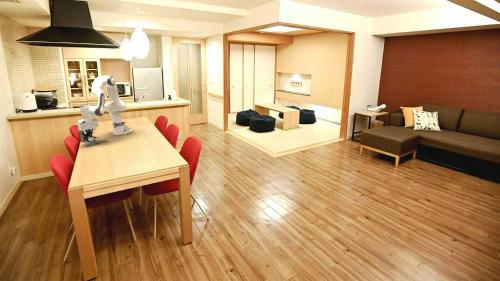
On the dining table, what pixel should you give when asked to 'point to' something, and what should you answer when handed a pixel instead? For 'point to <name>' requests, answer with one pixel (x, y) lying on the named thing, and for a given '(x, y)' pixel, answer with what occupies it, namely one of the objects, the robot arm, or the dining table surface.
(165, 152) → the dining table surface
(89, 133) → the vintage camera
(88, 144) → the lens mount
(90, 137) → the lens
